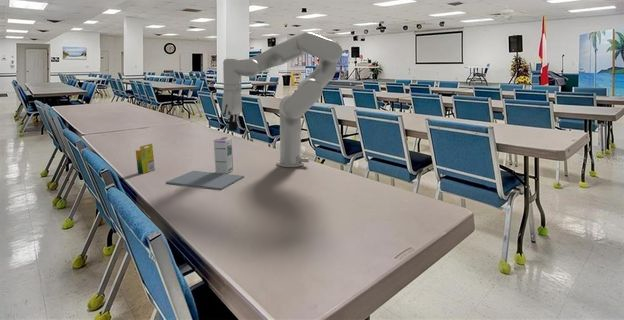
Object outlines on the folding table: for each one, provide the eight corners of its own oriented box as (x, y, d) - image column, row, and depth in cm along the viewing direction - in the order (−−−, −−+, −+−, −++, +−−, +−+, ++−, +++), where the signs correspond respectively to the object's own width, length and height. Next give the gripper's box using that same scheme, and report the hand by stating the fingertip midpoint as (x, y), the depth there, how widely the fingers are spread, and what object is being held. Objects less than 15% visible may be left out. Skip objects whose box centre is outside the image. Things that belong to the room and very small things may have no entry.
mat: (244, 177, 163) (244, 175, 163) (221, 189, 146) (221, 188, 146) (193, 172, 170) (193, 170, 170) (166, 183, 153) (165, 181, 153)
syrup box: (228, 173, 168) (226, 139, 165) (214, 173, 169) (213, 139, 166) (233, 170, 173) (232, 137, 170) (220, 169, 174) (219, 136, 171)
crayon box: (149, 169, 174) (147, 142, 171) (155, 169, 173) (153, 143, 170) (137, 173, 167) (134, 145, 164) (143, 174, 166) (140, 146, 163)
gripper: (233, 87, 180) (233, 127, 185) (215, 88, 167) (216, 132, 171) (248, 88, 178) (248, 128, 182) (231, 89, 164) (232, 133, 169)
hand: (233, 130), depth 177 cm, fingers closed
